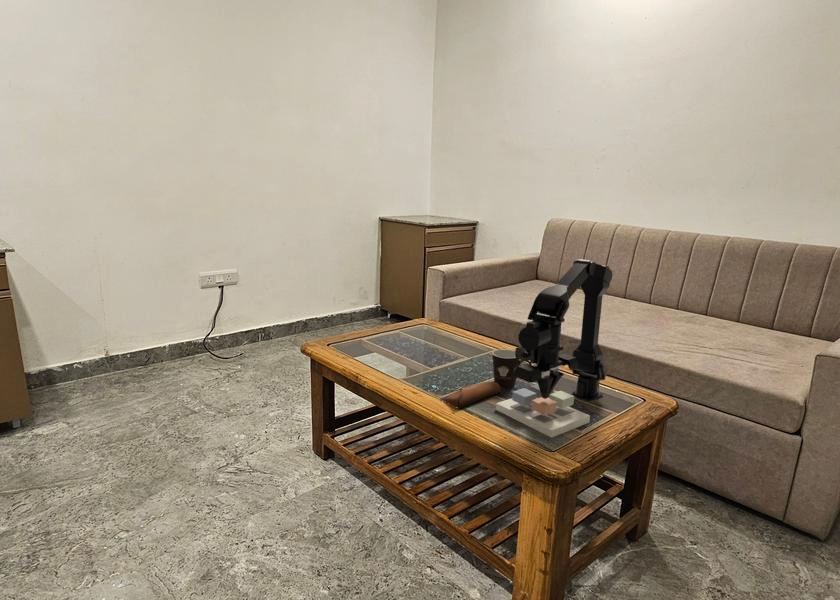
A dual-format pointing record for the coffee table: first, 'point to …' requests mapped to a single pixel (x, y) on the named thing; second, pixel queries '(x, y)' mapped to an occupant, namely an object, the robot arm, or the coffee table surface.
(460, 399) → the sunglasses case
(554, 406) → the terracotta key
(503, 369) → the coffee mug
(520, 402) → the slate key
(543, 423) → the keypad board
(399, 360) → the coffee table surface
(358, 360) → the coffee table surface
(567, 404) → the sage key
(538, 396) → the charcoal key
